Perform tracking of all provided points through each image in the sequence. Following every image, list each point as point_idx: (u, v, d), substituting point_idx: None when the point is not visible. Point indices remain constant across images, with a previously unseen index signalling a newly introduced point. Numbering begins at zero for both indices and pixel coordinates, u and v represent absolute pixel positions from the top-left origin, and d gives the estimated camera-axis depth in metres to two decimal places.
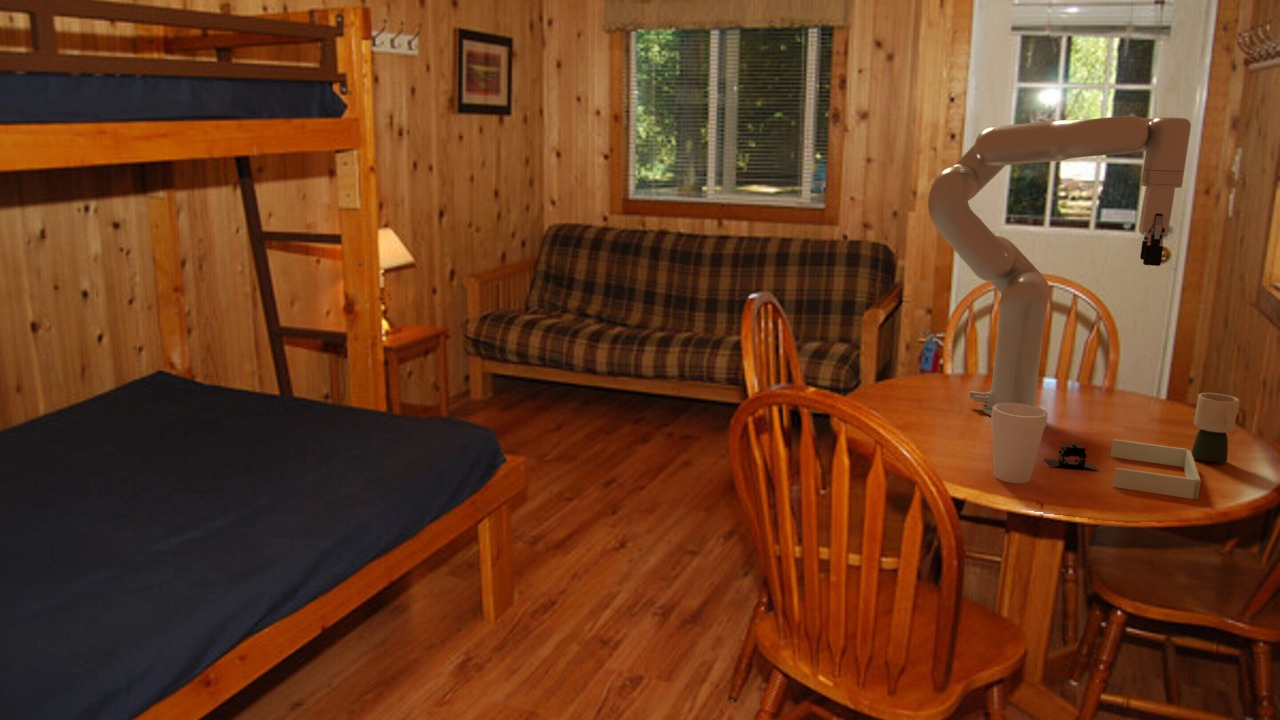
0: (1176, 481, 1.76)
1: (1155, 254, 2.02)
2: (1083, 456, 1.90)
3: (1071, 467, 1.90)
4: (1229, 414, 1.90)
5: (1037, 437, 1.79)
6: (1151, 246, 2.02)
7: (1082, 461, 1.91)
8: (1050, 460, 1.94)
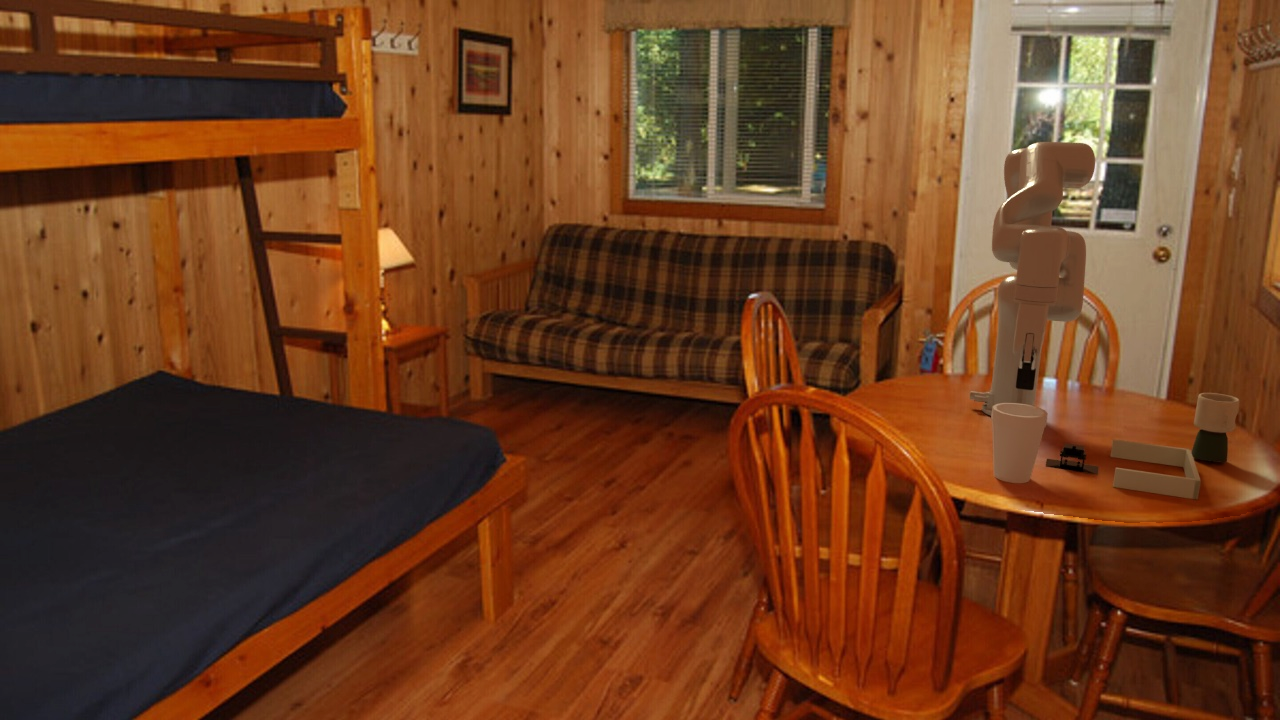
0: (1176, 481, 1.76)
1: (1027, 378, 1.90)
2: (1082, 458, 1.89)
3: (1068, 468, 1.90)
4: (1229, 414, 1.90)
5: (1037, 437, 1.79)
6: (1023, 370, 1.90)
7: (1082, 463, 1.90)
8: (1052, 460, 1.94)
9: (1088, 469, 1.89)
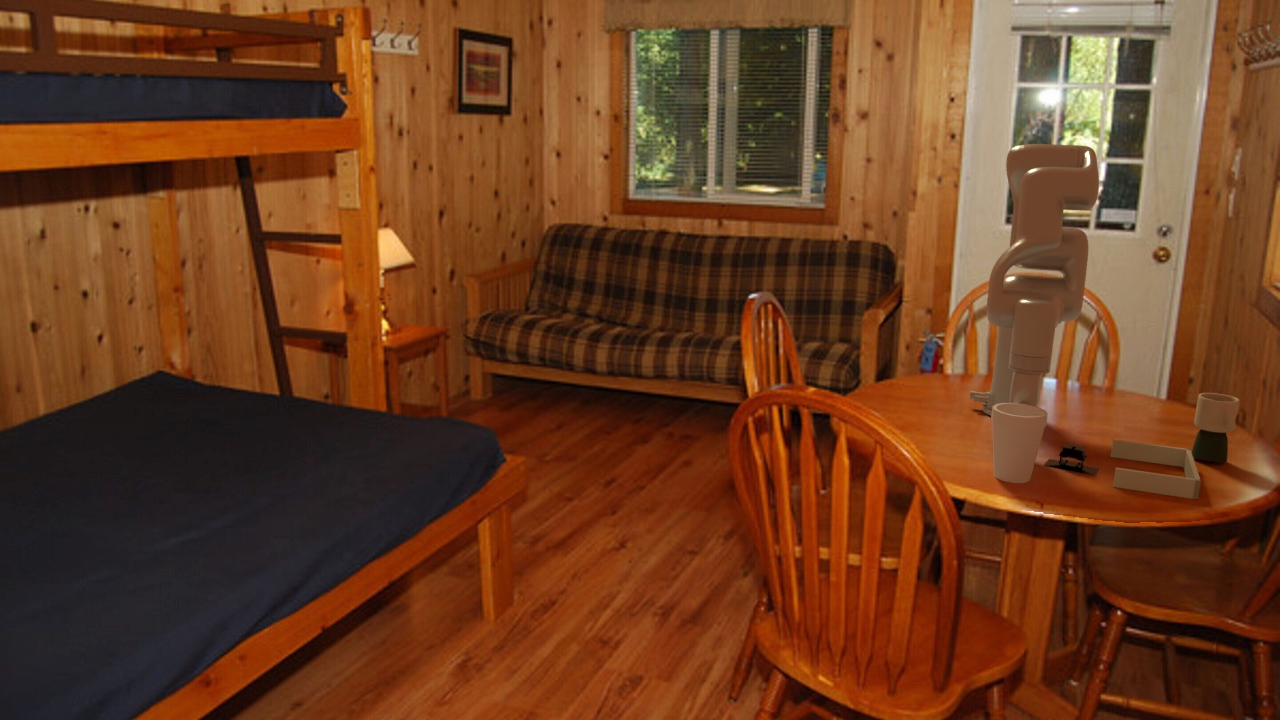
0: (1176, 481, 1.76)
1: None
2: (1080, 458, 1.88)
3: (1066, 468, 1.90)
4: (1229, 414, 1.90)
5: (1037, 437, 1.79)
6: None
7: None
8: (1054, 460, 1.94)
9: (1087, 470, 1.88)
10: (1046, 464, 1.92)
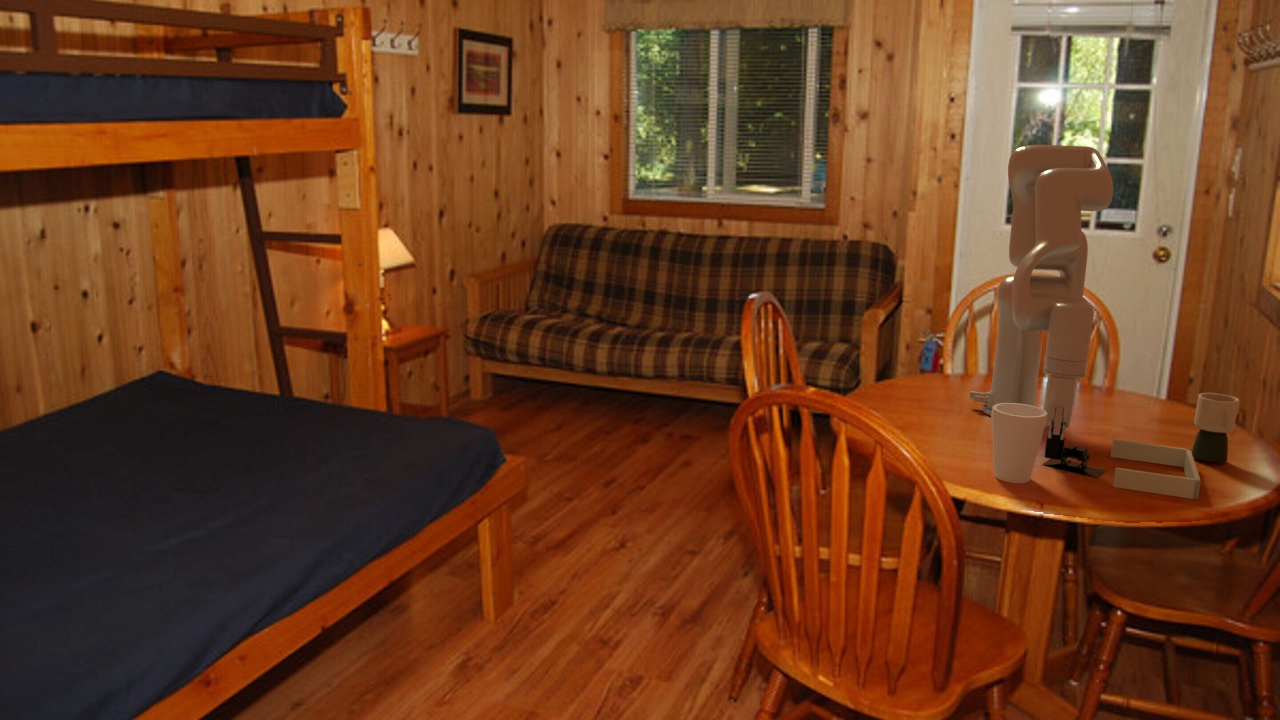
0: (1176, 481, 1.76)
1: (1056, 448, 1.91)
2: (1081, 459, 1.88)
3: (1067, 468, 1.89)
4: (1229, 414, 1.90)
5: (1037, 437, 1.79)
6: (1052, 440, 1.91)
7: None
8: (1057, 460, 1.94)
9: (1087, 471, 1.88)
10: (1048, 464, 1.92)
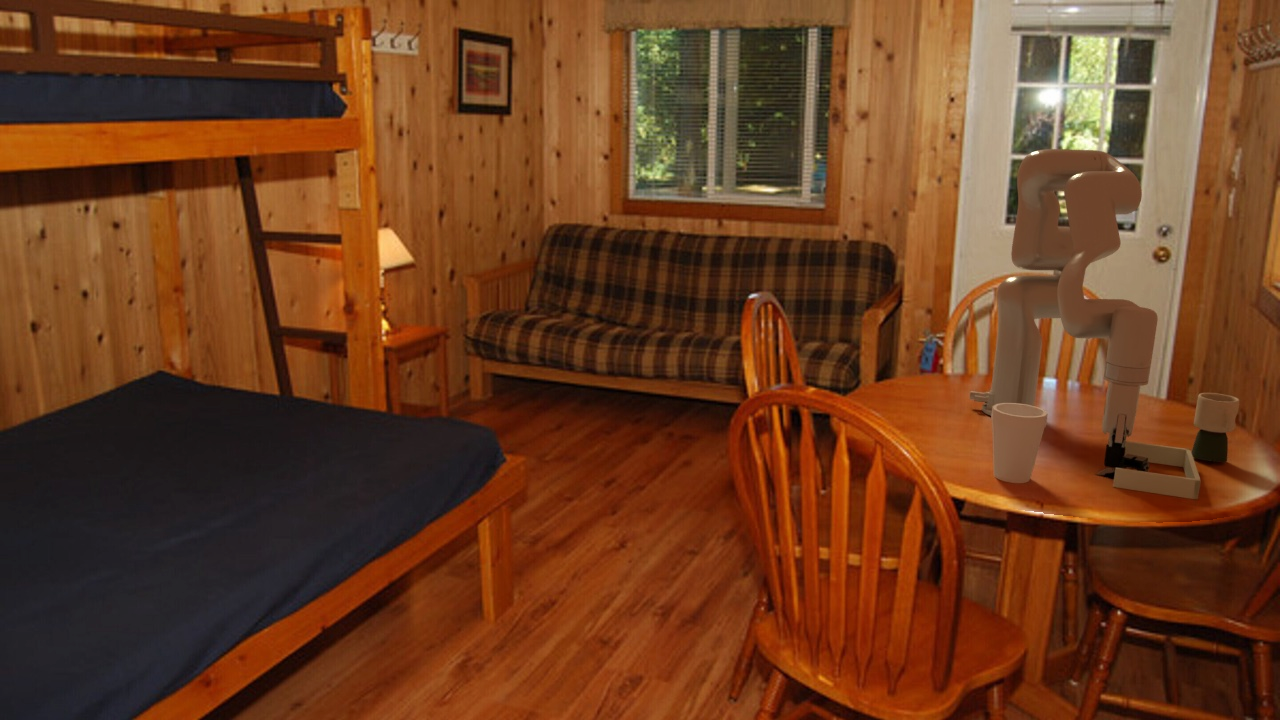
0: (1176, 481, 1.76)
1: (1117, 457, 1.87)
2: (1140, 469, 1.83)
3: None
4: (1229, 414, 1.90)
5: (1037, 437, 1.79)
6: (1112, 448, 1.87)
7: None
8: None
9: None
10: (1105, 473, 1.87)
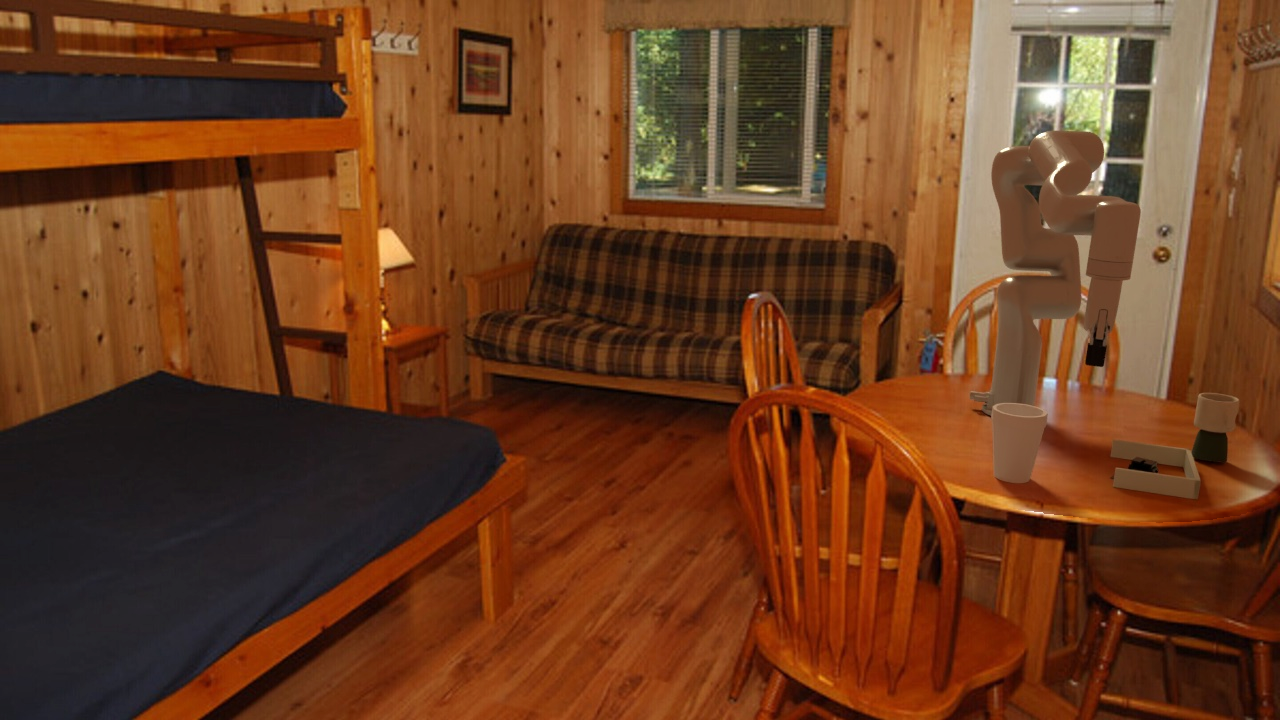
0: (1176, 481, 1.76)
1: (1098, 355, 1.85)
2: None
3: None
4: (1229, 414, 1.90)
5: (1037, 437, 1.79)
6: (1093, 346, 1.85)
7: None
8: None
9: None
10: None
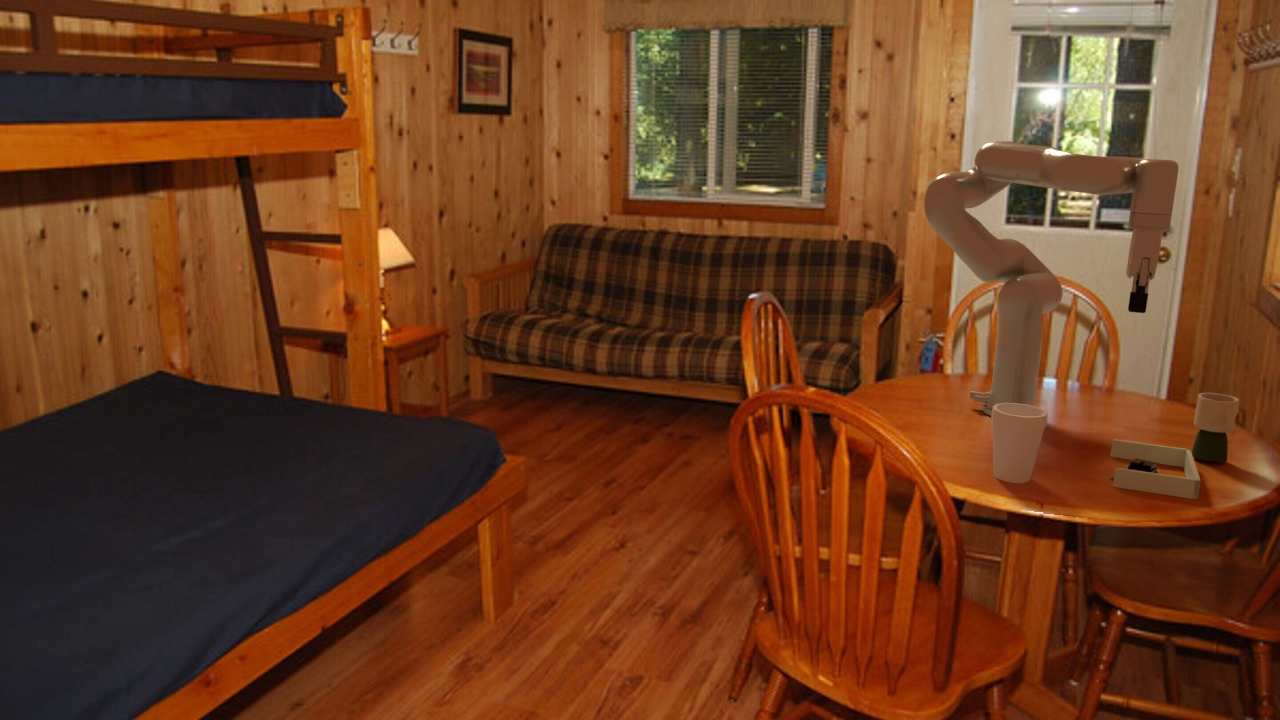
0: (1176, 481, 1.76)
1: (1140, 301, 2.02)
2: None
3: None
4: (1229, 414, 1.90)
5: (1037, 437, 1.79)
6: (1136, 293, 2.02)
7: None
8: None
9: None
10: (1113, 478, 1.85)
